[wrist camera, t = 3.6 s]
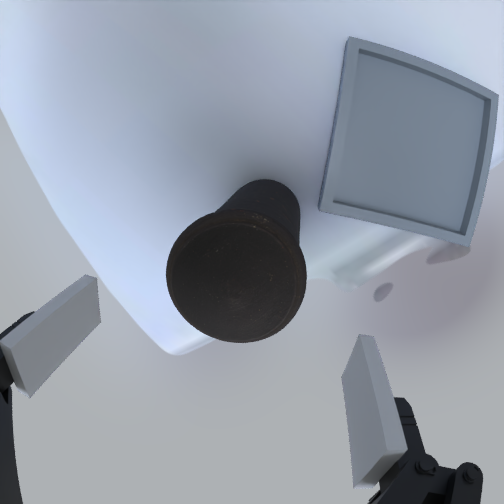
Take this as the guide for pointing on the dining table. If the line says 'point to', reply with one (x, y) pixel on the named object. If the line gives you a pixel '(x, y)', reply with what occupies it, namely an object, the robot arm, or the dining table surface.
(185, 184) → the dining table surface
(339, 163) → the tray
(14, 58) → the dining table surface
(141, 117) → the dining table surface
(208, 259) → the container
